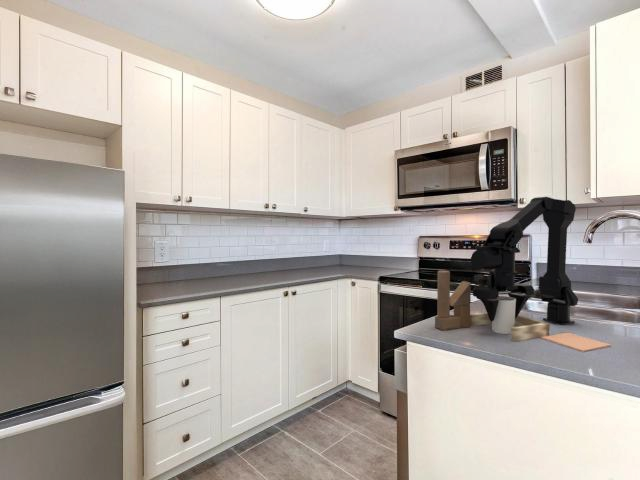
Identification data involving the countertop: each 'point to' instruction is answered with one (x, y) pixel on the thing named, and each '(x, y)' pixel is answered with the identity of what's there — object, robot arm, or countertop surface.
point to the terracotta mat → (576, 342)
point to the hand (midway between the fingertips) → (503, 319)
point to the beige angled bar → (516, 326)
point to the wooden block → (452, 303)
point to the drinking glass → (504, 315)
